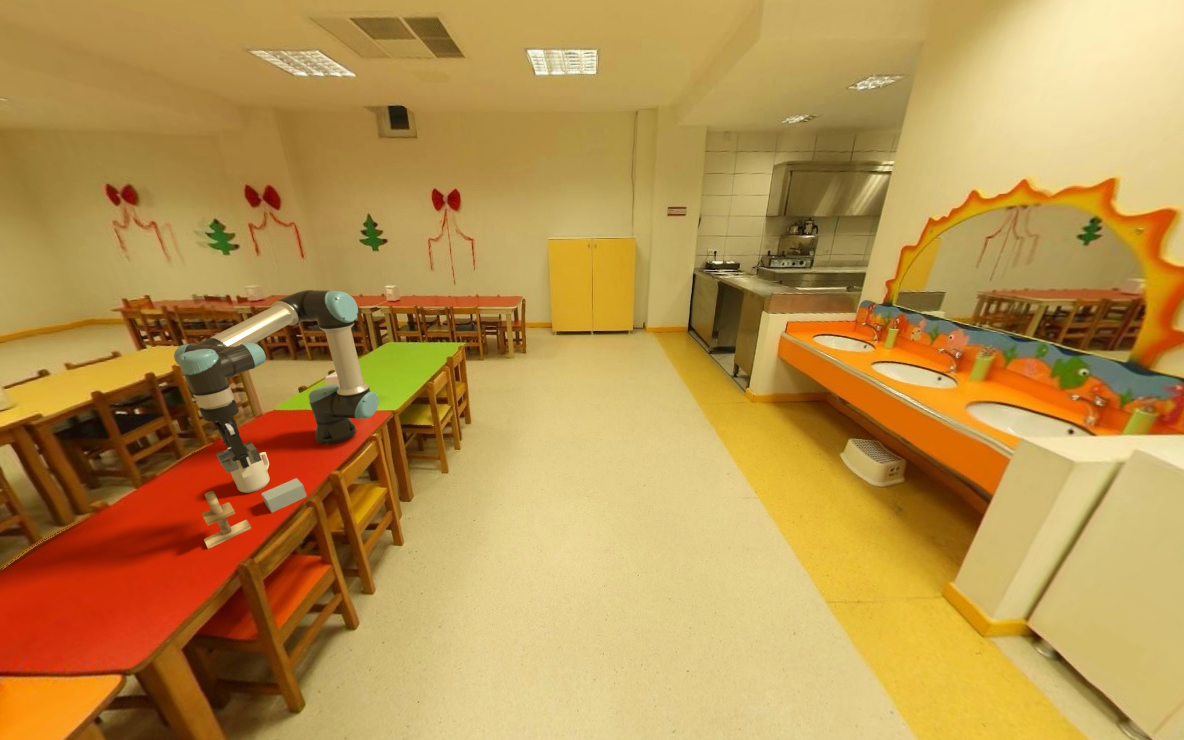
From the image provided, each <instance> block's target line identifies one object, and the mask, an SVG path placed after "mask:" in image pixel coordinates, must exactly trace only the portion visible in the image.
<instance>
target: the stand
mask: <svg viewBox="0 0 1184 740" xmlns="http://www.w3.org/2000/svg"><path fill="white" fill-rule="evenodd" d="M204 496H205V499H206V501H207V504H208V506H209V507H210V509H209V510H207V511H204V512H202V513H201V516H202V517H203V520H204V521H205V523H206V525H207V526H210V525H213V524H215V523H217V524H218V526H219V529H220V531H218V532H216V533H214V534H212V535H210V536H208V537H206V538H204V539H203V541H204V543H205V545H206V548H207V549H208V550H209V549H210V548H213V547H215V546H217V545H219V544H222V543H224V542H225V541H228V540H230V539H232V538H234V537H236V536H238V535H241V534H243V533H244V532H247V531H249V530H251V529H252V526H251V524H250V523H249V521H248V519H245V520H242V521H240V522H237V523H236V524H234V525H232V526H230V523H229V521H228V519H227V518H228V517H230V516H233V515H236V511H235V509H234V508H233V506H232V504H231V503H230V501H229V502H226V503H223V504H220V502H219V499H218V497H217V495H216V493H215V492H214V490H211V491H207V492H206V493H205V494H204Z"/></svg>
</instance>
